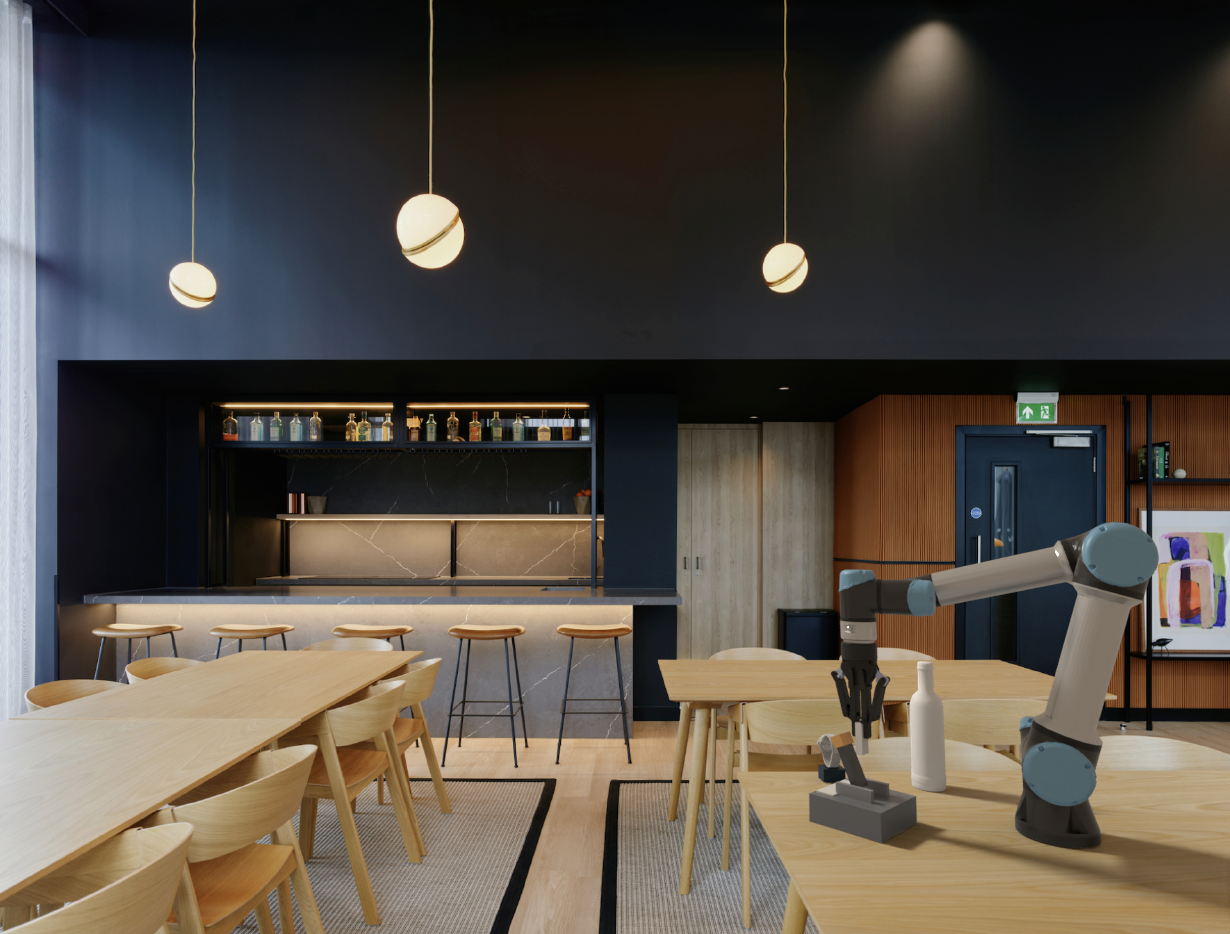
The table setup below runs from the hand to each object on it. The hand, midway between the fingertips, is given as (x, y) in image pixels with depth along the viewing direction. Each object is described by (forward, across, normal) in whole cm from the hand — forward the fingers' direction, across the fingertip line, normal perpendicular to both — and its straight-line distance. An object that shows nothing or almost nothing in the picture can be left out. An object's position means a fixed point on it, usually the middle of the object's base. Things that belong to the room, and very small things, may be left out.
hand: (862, 753), depth 158 cm
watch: (+14, -20, +22) cm, 33 cm away
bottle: (+14, -2, +35) cm, 38 cm away
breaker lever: (+8, 0, 0) cm, 8 cm away
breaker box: (+14, 0, 0) cm, 14 cm away
